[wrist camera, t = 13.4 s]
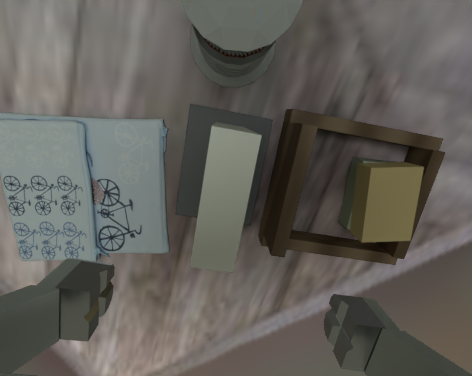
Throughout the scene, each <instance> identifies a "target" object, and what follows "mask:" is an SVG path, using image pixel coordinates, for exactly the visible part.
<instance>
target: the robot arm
mask: <svg viewBox="0 0 472 376" xmlns="http://www.w3.org/2000/svg"><path fill="white" fill-rule="evenodd" d="M114 269H115V267H114V265H113V264H108V263H101V262H95V261H89V260H82V259H74V258H68V259H66V260H64V261H63V262H62V263H61V264H60V265H59V266H58V267H57V268H55V269H54V270H53V271H52V272H51V273H50V274H49V275H48V276H46V277H45V278H44V279H43V280H42V281H41V282H40V283H39V284H38V285H36V286H35V285H30V286H27V287H24V288H22V289H19V290H16V291H13V292H10V293H8V294H5V295H2V296H0V376H35V375H23V374H14V373H12V372H14V371H15V370H17V369H18V368H20V367H21V366H23V365H24V364H26V363H27V362H28V361H30V360H31V359H33V358H34V357H36V356H37V355H39V354H40V353H42V352H43V351H44V350H46V349H47V348H49V347H50V346H52V345H53V344H55V343H56V342H58V341H59V339H64V340H77V341H89V339H90V337H91V336H92V334H93V332H94V331H95V329H96V328H97V326H98V322H99V317H101V316H103V315H104V314H105V313H106V311H107V309H108V307H109V305H110V302H111V299H112V295H113V287H114V286H113V285H112V283H111V282H110V281H111V279H112V278H113V276H114ZM329 304H330V306H331V308H332V309H330V310H329V311H328V312H327V313H326V315H325V319H324V331H325V335H326V337H327V339H328V341H329V342H330V343H331V344H332V345H334V349H333V352H334V355H335V357H336V359H337V361H338V363H339V365H340V368H341V369H348V370H355V371H363V372H365V374H366V375H367V376H472V374H470V373H469V372H467V371H465V370H464V369H463V368H461V367H459V366H458V365H456V364H455V363H453V362H452V361H450V360H449V359H447V358H445V357H444V356H442V355H441V354H439V353H438V352H436V351H435V350H433V349H432V348H430V347H428V346H427V345H425V344H424V343H422V342H421V341H419V340H417V339H416V338H414V337H413V336H411V335H410V334H408V333H407V332H405V331H401V330H400V329H399V328H398V327H397V326H396V324H395V323H394V322H393V321H392V320H391V318H390V317H389V316H388V315H387V314H386V312H385V311H384V310H383V309H382V307H381V306H380V305H379V304H378V303H377V301H375V300H374V299H372V298H366V297H354V296H345V295H337V294H334V295H333V296H332V297H331V299H330V302H329Z"/></svg>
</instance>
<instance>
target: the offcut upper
mask: <svg viewBox="0 0 472 376" xmlns="http://www.w3.org/2000/svg"><path fill="white" fill-rule="evenodd" d="M423 170H424V167H423V166H419V165H415V164H411V163H407V162H390V163H358V164H357V172H356V181H355V190H354V198H353V207H352V215H351V224H350V233H352V234H353V235H354V236H355V237H356V238H357V239H358V240H359V241H360V242H362V243H363V242H391V241H410V240H411V235H412V229H413V224H414V219H415V213H416V208H417V203H418V197H419V192H420V186H421V181H422V176H423Z"/></svg>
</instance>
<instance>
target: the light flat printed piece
mask: <svg viewBox="0 0 472 376" xmlns="http://www.w3.org/2000/svg"><path fill="white" fill-rule="evenodd" d="M167 130H169V129H167V128H165V126H164V125H163V119H103V118H82V117H67V116H46V115H32V114H20V113H0V175H1V179H2V184H3V189H4V194H5V197H6V201H7V206H8V210H9V214H10V219H11V222H12V227H13V231H14V233H15V237H16V242H17V246H18V249H19V256H20V259H21V260H22V261H38V260H66V259H68V258H74V259H82V260H89V261H95V262H97V260H98V259H99V257H100V255H99V253H100V254H103V255H105V256H108V255H107V254H108V253H153V254H155V253H167V252H169V243H168V234H167V221H166V196H165V170H164V152H165V151H166V134H167ZM92 178H94V179H95V180H96V181H98V184H99V185H100V186H101V188H102V190H103V191H104V199H103V200H102V201H100V203H101V204H99V205H95V204H94V202H93V198H92V189H91V186H92ZM108 257H110V256H108Z"/></svg>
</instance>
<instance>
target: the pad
mask: <svg viewBox="0 0 472 376" xmlns="http://www.w3.org/2000/svg"><path fill="white" fill-rule="evenodd" d="M272 121H273V120H271V119H266V118H261V117H255V116H250V115H245V114H240V113H235V112H230V111H224V110H219V109H214V108H209V107H204V106H198V105H193V104H190V109H189V117H188V125H187V132H186V140H185V147H184V155H183V162H182V170H181V177H180V185H179V193H178V200H177V208H176V214H177V215H183V216H190V217H198V211H199V204H200V198H201V192H202V185H203V179H204V172H205V166H206V159H207V153H208V147H209V140H210V134H211V127H212V125H213V124H215V123H216V122H219V123H224V124H230V125H235V126H240V127H245V128H247V129H249V130H252V131H254V132H256V133H258V134H260V135H262V136H261V141H260V146H259V151H258V156H257V161H256V165H255V170H254V175H253V180H252V185H251V190H250V195H249V200H248V204H247V209H246V214H245V219H244V224H243V225H250V224H251V220H252V215H253V210H254V206H255V201H256V196H257V192H258V187H259V182H260V177H261V173H262V168H263V163H264V159H265V154H266V149H267V145H268V140H269V135H270V131H271V126H272Z"/></svg>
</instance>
